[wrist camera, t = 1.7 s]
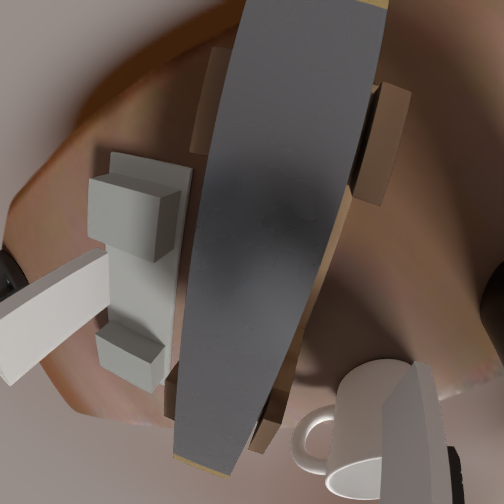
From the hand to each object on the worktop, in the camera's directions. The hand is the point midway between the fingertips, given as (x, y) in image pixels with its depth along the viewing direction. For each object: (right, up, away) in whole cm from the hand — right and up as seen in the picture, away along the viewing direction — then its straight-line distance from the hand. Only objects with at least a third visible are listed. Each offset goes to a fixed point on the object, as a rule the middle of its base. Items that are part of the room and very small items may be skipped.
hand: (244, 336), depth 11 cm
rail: (+1, +1, +3) cm, 4 cm away
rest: (-10, 0, +16) cm, 19 cm away
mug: (+11, -10, +14) cm, 20 cm away
